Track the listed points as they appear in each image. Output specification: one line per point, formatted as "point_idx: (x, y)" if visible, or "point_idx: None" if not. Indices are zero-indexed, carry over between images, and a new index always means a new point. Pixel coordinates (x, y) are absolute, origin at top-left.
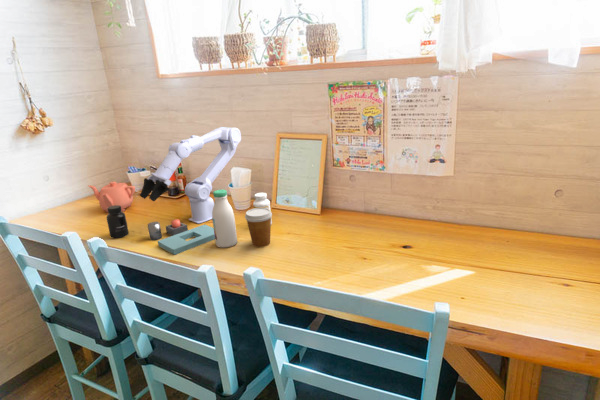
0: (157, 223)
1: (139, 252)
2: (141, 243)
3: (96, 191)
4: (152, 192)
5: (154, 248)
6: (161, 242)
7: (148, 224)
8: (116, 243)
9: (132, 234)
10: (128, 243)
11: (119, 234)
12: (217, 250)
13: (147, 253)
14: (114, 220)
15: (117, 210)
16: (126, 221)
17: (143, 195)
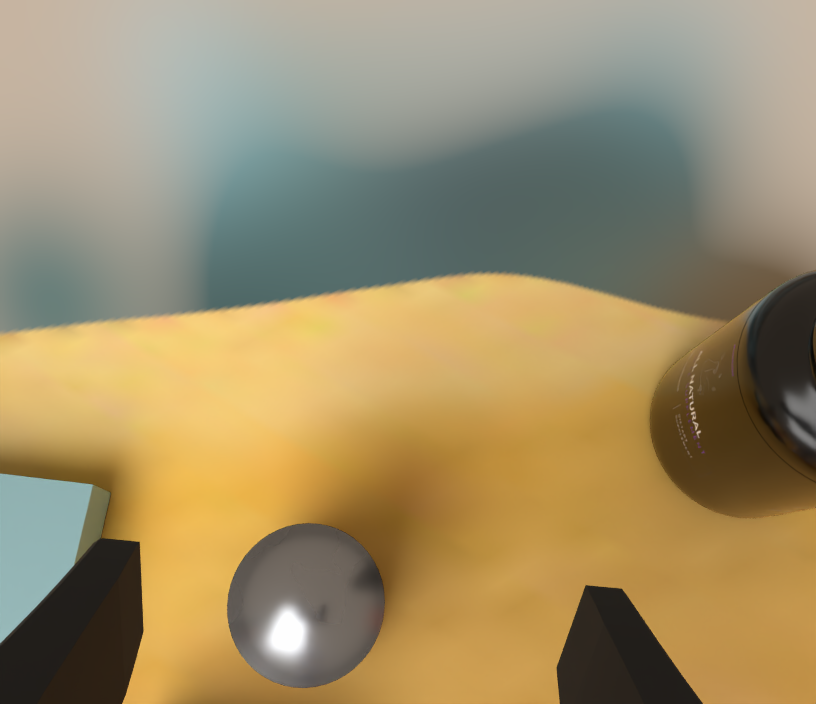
0: (260, 639)
1: (166, 316)
2: (337, 438)
3: None
4: (26, 643)
5: (105, 438)
6: (19, 485)
7: (343, 548)
8: (558, 314)
9: (647, 520)
10: (455, 372)
11: (666, 385)
12: None
13: (74, 341)
14: (747, 313)
15: None
16: (768, 492)
17: (585, 661)
